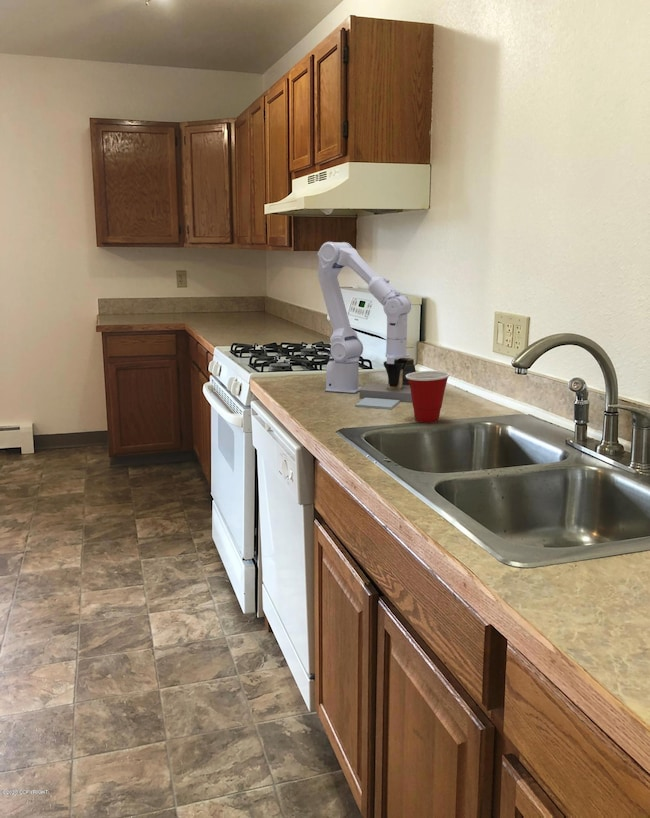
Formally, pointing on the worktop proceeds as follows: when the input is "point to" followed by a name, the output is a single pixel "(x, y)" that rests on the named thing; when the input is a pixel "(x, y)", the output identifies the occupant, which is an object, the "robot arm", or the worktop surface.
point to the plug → (398, 382)
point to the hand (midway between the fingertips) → (395, 385)
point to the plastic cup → (427, 394)
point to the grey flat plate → (386, 392)
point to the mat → (377, 403)
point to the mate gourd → (408, 370)
